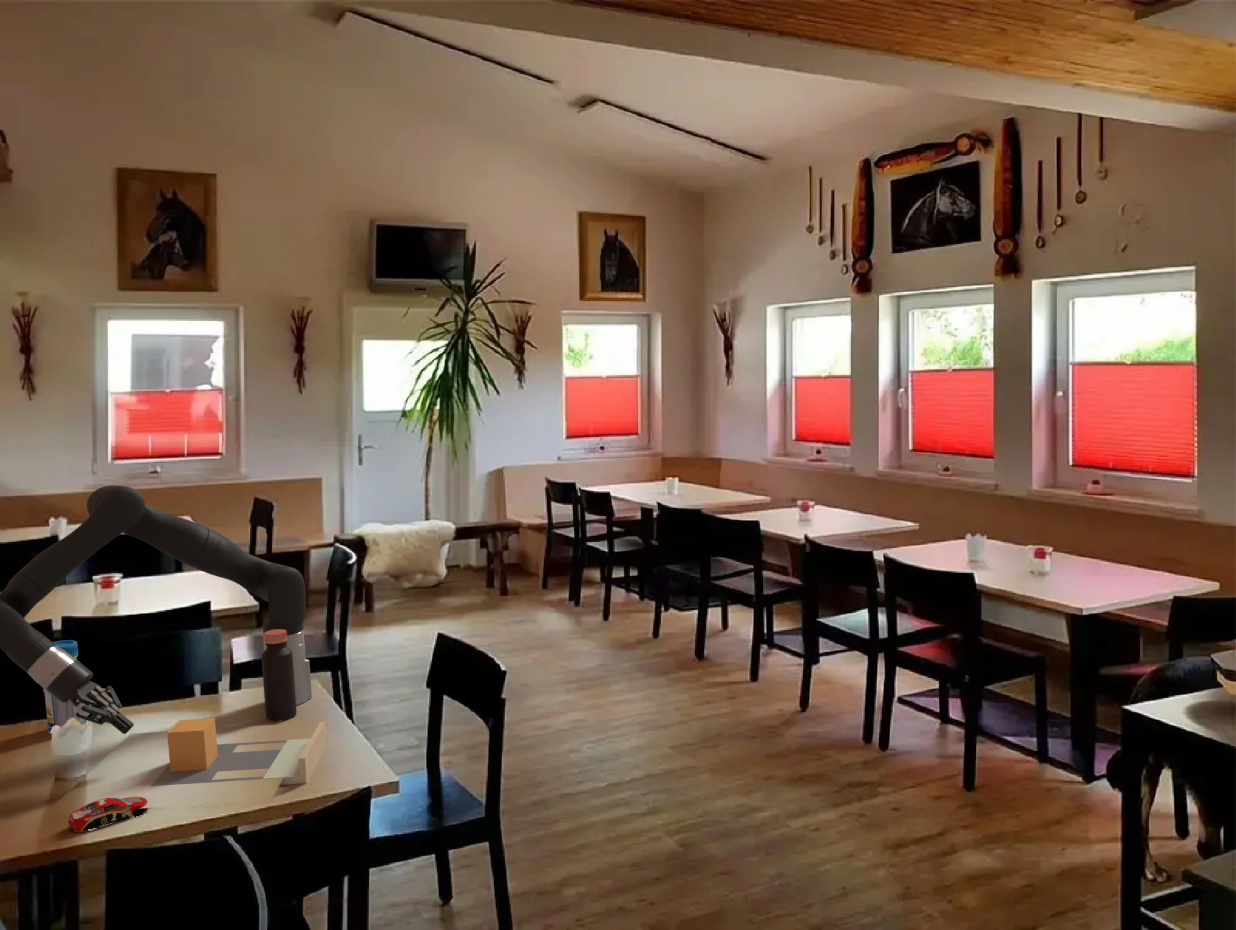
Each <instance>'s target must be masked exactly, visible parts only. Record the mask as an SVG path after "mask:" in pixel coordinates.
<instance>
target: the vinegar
mask: <svg viewBox="0 0 1236 930" xmlns="http://www.w3.org/2000/svg"><path fill="white" fill-rule="evenodd" d="M264 638H265V645H267V649H266V650H265V651H264V650H263V652H262V654H261V669H262V683H263V695H264V711H265V718H266V719H267V720H268V721H271V720H272V721H271V722H280V721H279V720H282V721H287V720H289V718H290V719H293V718H294V717H295V716H296V715H297V714H298V713H297V712H298V711H297V710H298V709H297V705H296V695H295V681H294V667H293V653H292V651H291V649H289V648H288V647H287V646H286V643H287V631H286V630H284V629H275V630H270V631H267V632H265V633H264ZM264 638H263V639H264ZM286 719H287V720H286Z"/></svg>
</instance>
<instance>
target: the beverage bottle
mask: <svg viewBox="0 0 1236 930" xmlns="http://www.w3.org/2000/svg"><path fill="white" fill-rule="evenodd" d="M52 642H53V641H52ZM53 643H54V644H55V645H57V646H58V647H60V648H61V649H63V650H65V651H66V652H67V653H69V654H70V655H71V656H72V657H74V658H75V659H76V660H77V661H79V660H78V659H77V657H78V656H79V648H78V647H79V645H78V642H77V641H76V640H72V639H68V640H66V639H65V640H58V641H54V642H53ZM42 690H43V693H44V699H45V710H46V720H47V732H48V734H50V731H51V729H52V727H53V726H55V725H58V726H62V725H64V724H65V723H66V721H67V720H68V717H76V718H78V717H77V716H76V715H75V714H76V713H77V712H78V707H76V706H75V705H74V704H73V703H72V702H71V701H70V700H69V701H68V702H66V703H62V702H61V701H59V700H58V699H57V698H56V697H54V696H53V695H52V694H51V693H49V692H48V691H47V690H46V689H44V688H43V687H42ZM78 719H79V720H80V721H81V722H86V721H87V720H84V719H81V718H78Z"/></svg>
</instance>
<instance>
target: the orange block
mask: <svg viewBox="0 0 1236 930" xmlns="http://www.w3.org/2000/svg"><path fill="white" fill-rule="evenodd" d="M166 733H167V734H166V735H167V745H168V756H169V757H168V758H169V765H170V771H171V772H173V771H189V770H204V769H208V767H209V766H210V765H211V764H212V762H213V761H214V760H215V759H216V757H217V756H218V752H217V744H218V743H217V742H218V740H217V729H216V718H215V717H210V718H208V717H207V718H191V719H179V720H178V721H177V722H176V723H175V724H174V725H173V726H172V727H170V729H169V730H168V731H167V732H166Z"/></svg>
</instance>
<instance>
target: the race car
mask: <svg viewBox="0 0 1236 930" xmlns="http://www.w3.org/2000/svg"><path fill="white" fill-rule="evenodd" d="M147 804H148V799H147V798H145V797H142V796H129V797H123V798H117V797H116V798H115V797H105V798H101V799H97V800H95V801H91V802H90V803H88V804H85V805H83V806H82V807H80V808H78V809H77V810H75V811H73V812H72V813H70V814H69V818H68V820H67V824H68V825H67V827H68V828H69V830H71V831H72V832H75V833H82V832H81V831H86V832H87V830H88V829H93V828H98V829H99V828H101V827H100V826H103V825H106V824H110V823H113V822H116V823H119V822H122V821H125V820H129V819H132V818H137V817H136V816H138V817H141V816H140V815H142V816H143V815H144V813H147V811H148V810H149V807H145V806H146V805H147ZM113 824H114V823H113ZM110 825H111V824H110ZM103 827H104V826H103Z"/></svg>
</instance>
